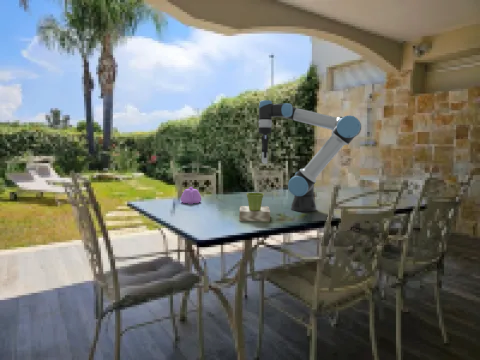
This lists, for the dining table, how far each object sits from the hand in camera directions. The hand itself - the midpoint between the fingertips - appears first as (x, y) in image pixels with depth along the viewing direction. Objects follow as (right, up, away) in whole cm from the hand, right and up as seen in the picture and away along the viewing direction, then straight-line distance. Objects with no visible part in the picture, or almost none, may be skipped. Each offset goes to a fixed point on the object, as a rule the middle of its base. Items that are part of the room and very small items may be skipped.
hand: (264, 163), depth 216 cm
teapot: (-48, -26, +30) cm, 62 cm away
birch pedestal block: (-7, -31, -20) cm, 37 cm away
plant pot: (-7, -26, -24) cm, 36 cm away
